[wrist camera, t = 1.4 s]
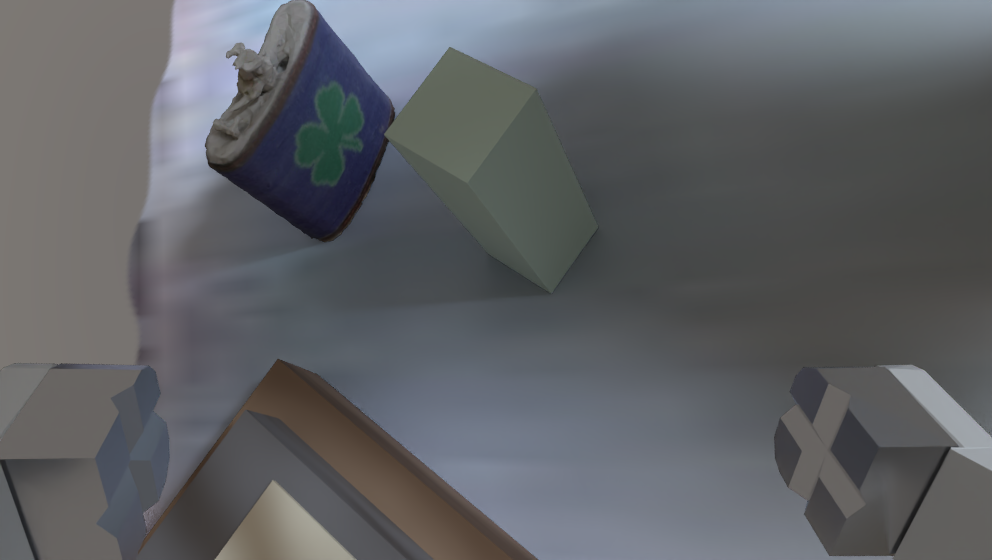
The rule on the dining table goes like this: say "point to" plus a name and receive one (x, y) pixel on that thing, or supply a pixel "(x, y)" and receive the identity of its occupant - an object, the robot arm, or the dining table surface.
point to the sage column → (496, 166)
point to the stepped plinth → (375, 467)
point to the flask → (302, 124)
